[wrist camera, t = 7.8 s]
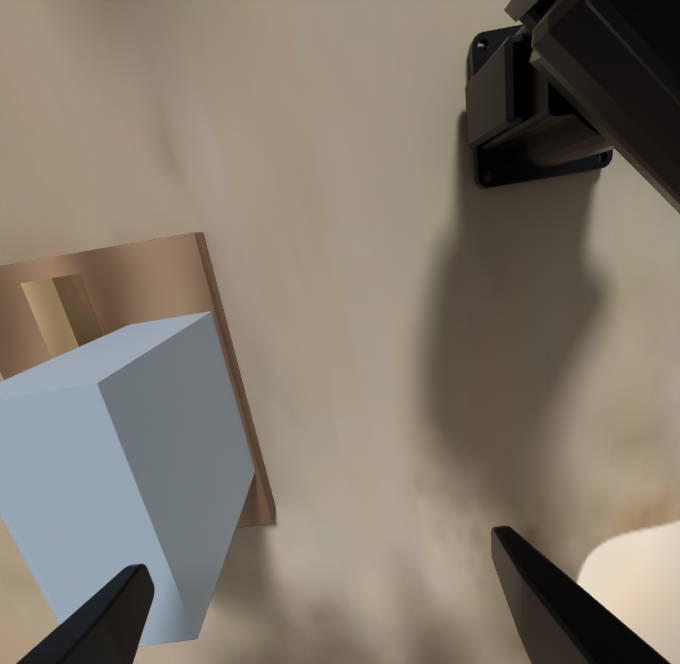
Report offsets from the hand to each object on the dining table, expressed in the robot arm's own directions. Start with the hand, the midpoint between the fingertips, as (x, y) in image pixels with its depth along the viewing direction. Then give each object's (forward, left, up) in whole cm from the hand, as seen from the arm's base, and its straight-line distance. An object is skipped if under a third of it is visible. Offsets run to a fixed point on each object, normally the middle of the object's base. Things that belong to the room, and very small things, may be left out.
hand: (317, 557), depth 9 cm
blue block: (+8, 0, -11) cm, 13 cm away
